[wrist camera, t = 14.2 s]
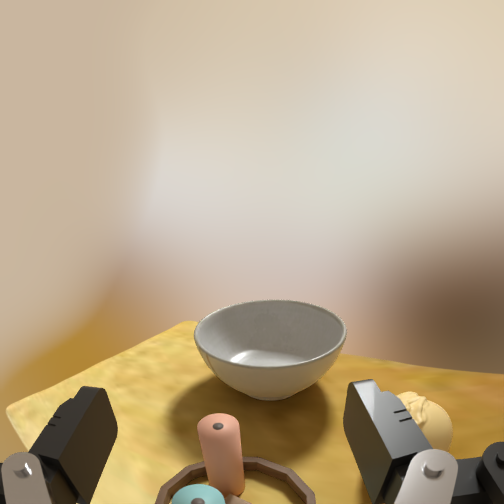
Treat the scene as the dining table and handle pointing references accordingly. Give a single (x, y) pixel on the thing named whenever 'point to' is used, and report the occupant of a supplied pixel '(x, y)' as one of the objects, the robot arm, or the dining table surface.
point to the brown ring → (248, 464)
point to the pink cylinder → (222, 453)
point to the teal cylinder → (198, 495)
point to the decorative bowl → (270, 346)
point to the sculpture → (429, 420)
